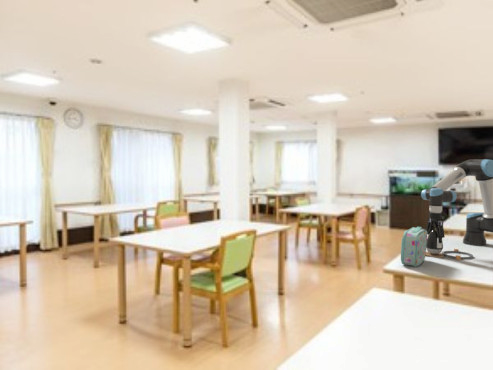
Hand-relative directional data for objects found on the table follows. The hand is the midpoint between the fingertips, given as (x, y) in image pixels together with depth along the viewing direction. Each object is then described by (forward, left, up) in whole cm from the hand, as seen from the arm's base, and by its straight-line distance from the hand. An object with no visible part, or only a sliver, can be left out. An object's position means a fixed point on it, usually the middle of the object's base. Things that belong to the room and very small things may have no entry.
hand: (434, 246), depth 255 cm
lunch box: (+27, -11, -6) cm, 30 cm away
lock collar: (-5, +13, -6) cm, 16 cm away
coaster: (0, 0, -6) cm, 6 cm away
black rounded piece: (0, 0, -5) cm, 5 cm away
